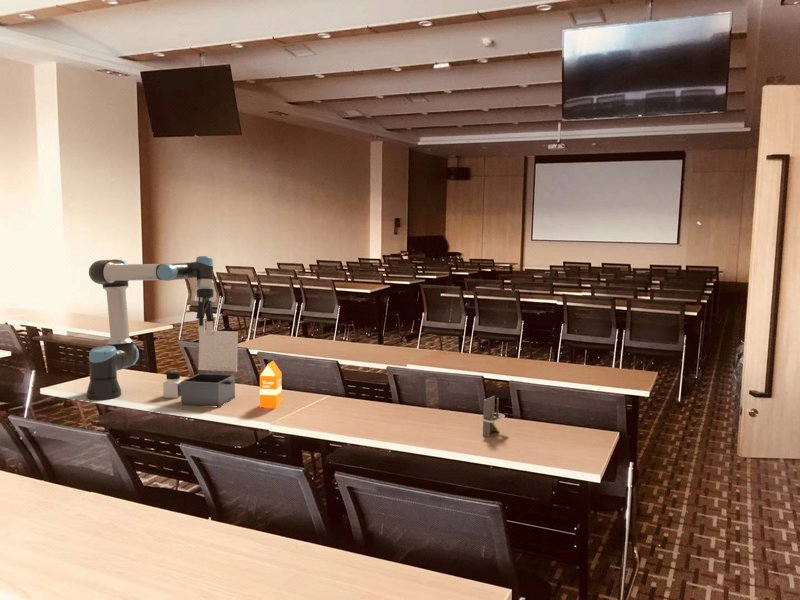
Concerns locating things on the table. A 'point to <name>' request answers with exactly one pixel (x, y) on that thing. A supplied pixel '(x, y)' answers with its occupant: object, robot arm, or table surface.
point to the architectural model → (490, 416)
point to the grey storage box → (207, 390)
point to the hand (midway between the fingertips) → (205, 334)
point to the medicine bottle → (172, 385)
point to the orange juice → (271, 386)
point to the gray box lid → (218, 351)
